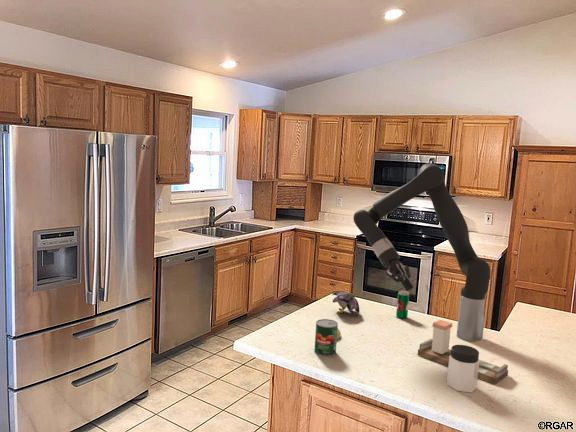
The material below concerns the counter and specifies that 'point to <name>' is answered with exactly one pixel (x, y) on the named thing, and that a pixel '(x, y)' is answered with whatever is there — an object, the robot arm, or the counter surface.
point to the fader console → (485, 369)
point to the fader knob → (441, 336)
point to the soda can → (402, 304)
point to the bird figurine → (346, 301)
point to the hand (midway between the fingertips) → (410, 289)
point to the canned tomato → (326, 337)
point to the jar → (463, 368)
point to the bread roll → (338, 334)
